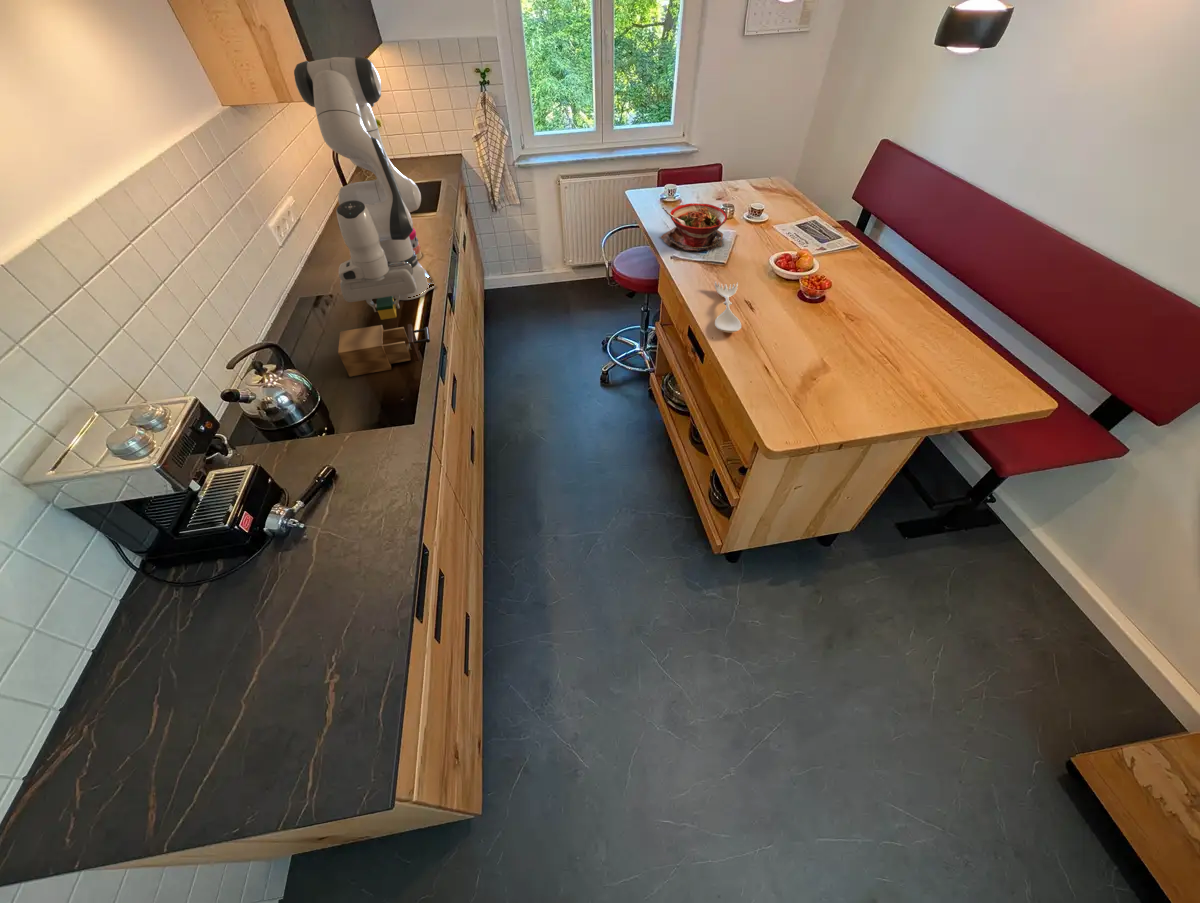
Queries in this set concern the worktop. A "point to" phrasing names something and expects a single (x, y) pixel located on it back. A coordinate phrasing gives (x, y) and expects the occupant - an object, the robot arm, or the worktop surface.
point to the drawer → (402, 343)
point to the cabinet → (363, 350)
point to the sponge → (386, 307)
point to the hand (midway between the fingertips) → (387, 309)
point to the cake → (415, 244)
